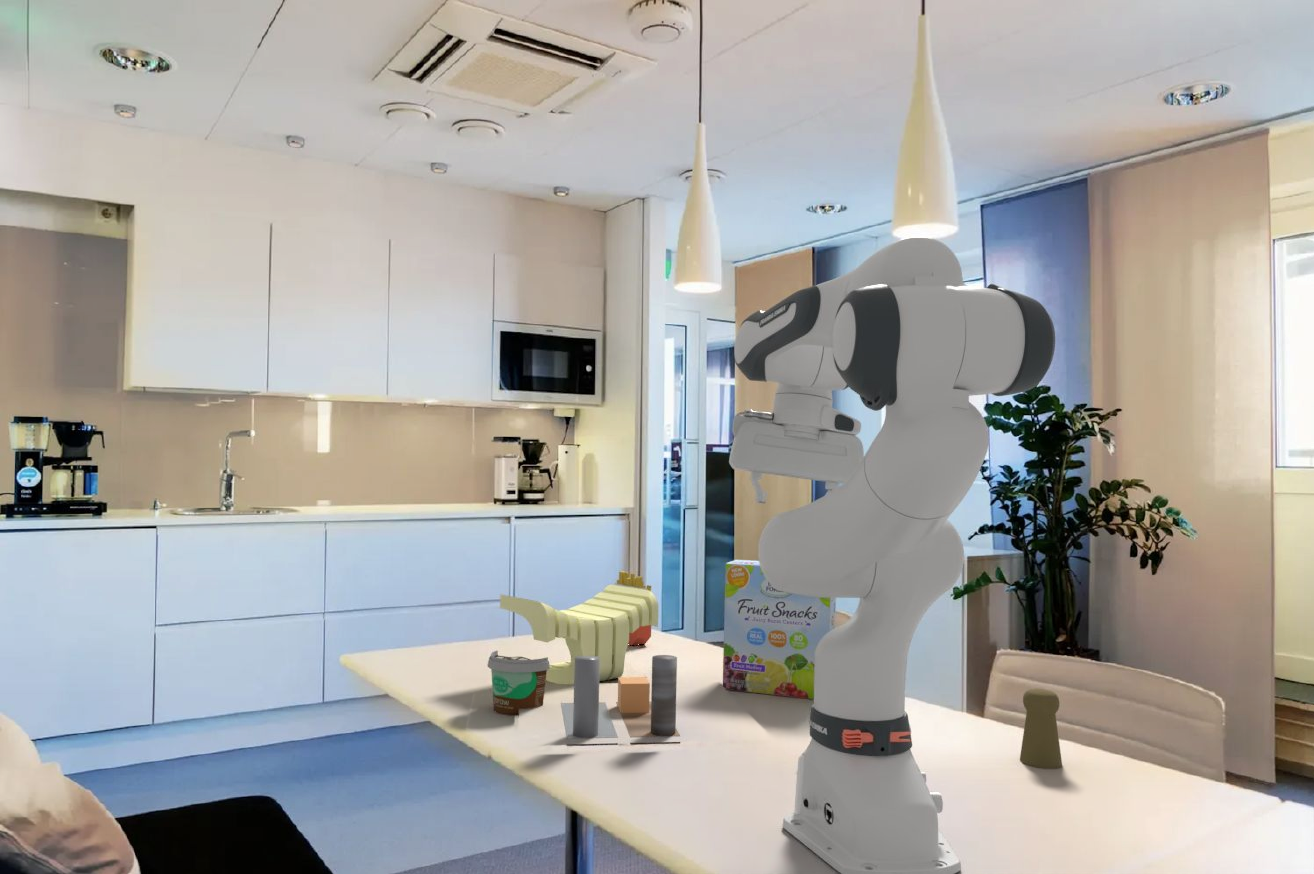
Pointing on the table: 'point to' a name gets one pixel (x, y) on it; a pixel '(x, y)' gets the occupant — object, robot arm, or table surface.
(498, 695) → the food container
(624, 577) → the french fries container
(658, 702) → the grey post on board
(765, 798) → the table surface
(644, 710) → the terracotta block
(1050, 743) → the olive green pawn
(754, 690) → the snack box
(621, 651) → the slatted curved stool
